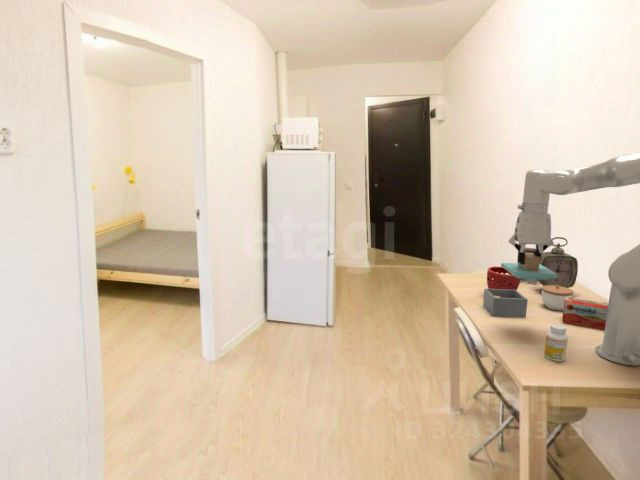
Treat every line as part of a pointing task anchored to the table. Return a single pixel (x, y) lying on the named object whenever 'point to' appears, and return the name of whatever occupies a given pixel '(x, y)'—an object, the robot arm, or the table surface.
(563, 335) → the supplement bottle
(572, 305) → the medicine box
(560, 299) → the lidded jar
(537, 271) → the teal base with post
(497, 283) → the plant pot
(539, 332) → the table surface
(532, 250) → the coffee box
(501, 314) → the storage box
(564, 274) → the tabletop clock
